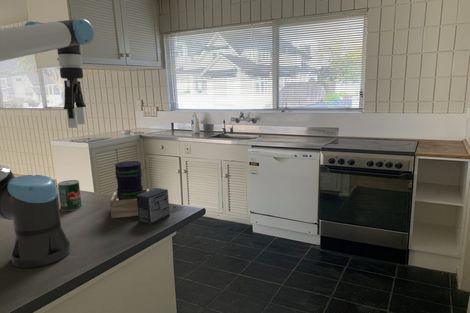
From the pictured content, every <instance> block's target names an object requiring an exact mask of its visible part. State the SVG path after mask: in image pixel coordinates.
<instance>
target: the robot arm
mask: <svg viewBox="0 0 470 313" xmlns="http://www.w3.org/2000/svg"><path fill="white" fill-rule="evenodd" d="M94 36H95V32H94V27H93V26H92V24H91V23H90V21H88V20H87V19H84V18H73V19H66V20H58V21H50V22H39V21H32V20H31V21H30V20H29V21H26V23H25V24H24V25H21V26H12V27H4V28H0V62H5V61H9V60H13V59H18V58H23V57H26V56H27V57H28V56H31V55H36V54H39V53H40V54H42V53H45V52H50V51H54V50H56V51H57V55H58V56H57V58H56V60H57V61H58V63H59V64H58V65H59V66H60V68H59V76H60V78H61V79H62V80H63V79H64V80H63V83H64V103H63V104H64V105H63V110H66V116H67V117H66V118H67V124H68V128H69V129H76V128H78V125H86V120H85V110H84V109H85V108H86V106H87V105H86V104H85V101H84V95H83V91H82V87H81V80H80V79H83V78H84V71H83V68H82V66H83V59H82V54H81V46H84V45H87V44H88V45H89V44H91V43H92V41H94ZM65 79H66V80H65ZM78 79H79V80H80V81H79V80H78ZM75 106H76V107H75ZM58 194H59V190H58V188H57V186H56V181H55V180H54V179H53V178H52V177H49V176H47V175H42V174H25V175H20V176H14V173H13V172H12V170H11V169H10V167H8V166H6V165H1V164H0V219H2V220H8V221H13V227H14V232H15V234H14V235H15V236H14V241H13V246H12V250H11V255H10V256H11V262H12V265H13V266H14V267H15V268H21V269H23V268H24V269H31V268H32V269H33V268H39V267H43V266H47V265H51V264H54V263H56V262H58V261H61V260H62V259H64V258H65V257H67V256H68V255H69V254H70V253H71V250H72V249H71V243H70V240H69V238H68V236H67V235H66V233H65V230H64V228H62V223H61V213H60V205H59V202H60V201H59V195H58Z"/></svg>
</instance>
